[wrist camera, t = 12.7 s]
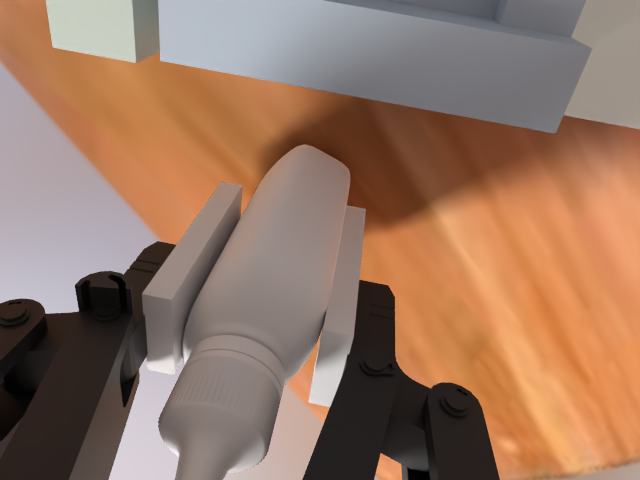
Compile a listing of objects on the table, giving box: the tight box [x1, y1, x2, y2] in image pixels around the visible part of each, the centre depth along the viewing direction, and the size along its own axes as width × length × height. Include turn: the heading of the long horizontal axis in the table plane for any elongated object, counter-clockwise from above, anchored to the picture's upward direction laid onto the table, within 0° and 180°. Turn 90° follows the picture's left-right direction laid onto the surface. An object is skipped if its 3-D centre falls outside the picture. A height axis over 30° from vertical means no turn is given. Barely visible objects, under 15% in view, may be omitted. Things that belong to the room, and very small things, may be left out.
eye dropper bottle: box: [158, 144, 350, 480], centre depth 14 cm, size 4×6×12 cm
